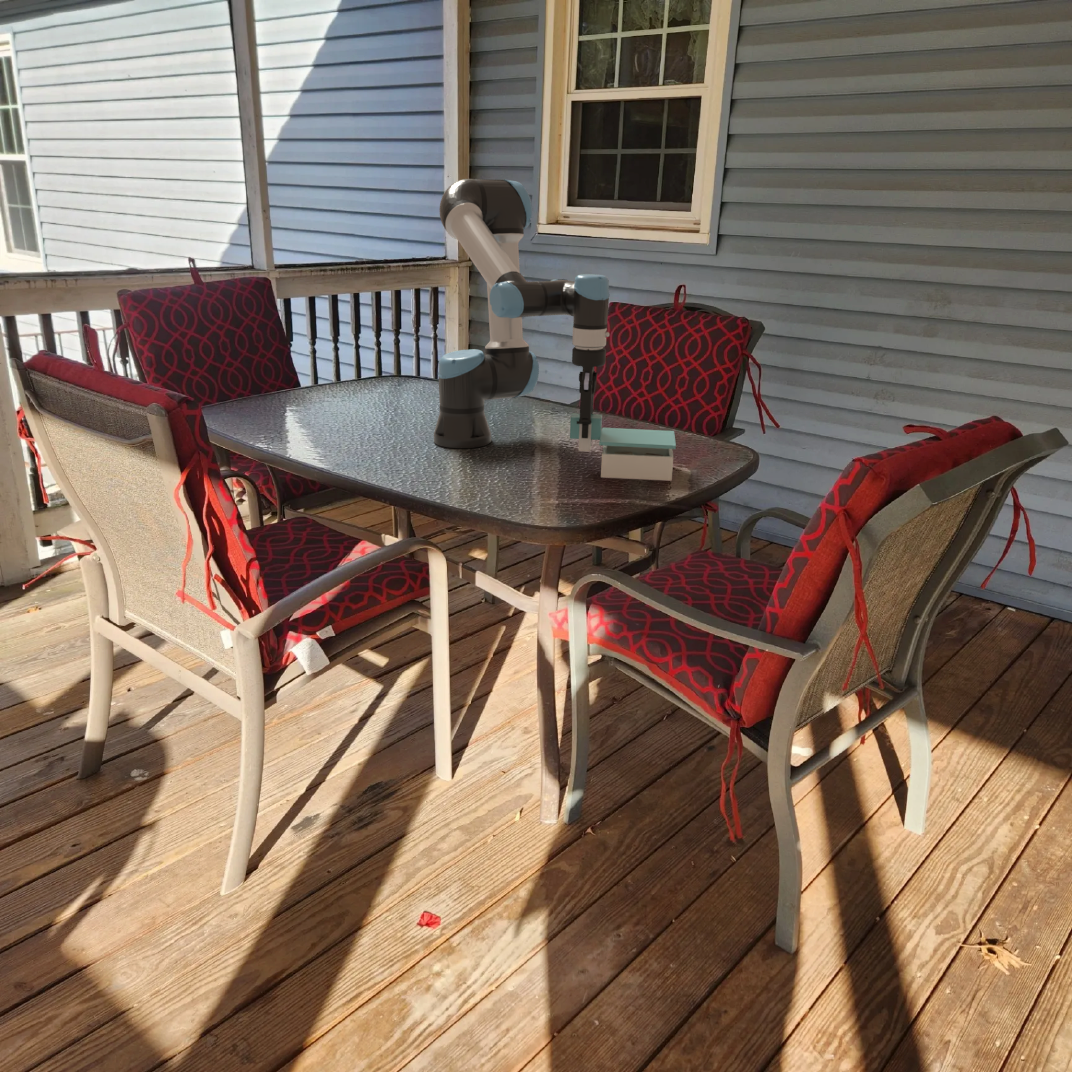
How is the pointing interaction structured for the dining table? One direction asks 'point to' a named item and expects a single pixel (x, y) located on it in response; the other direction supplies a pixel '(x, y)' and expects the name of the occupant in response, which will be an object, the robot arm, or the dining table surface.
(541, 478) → the dining table surface
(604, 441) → the lid
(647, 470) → the tub
